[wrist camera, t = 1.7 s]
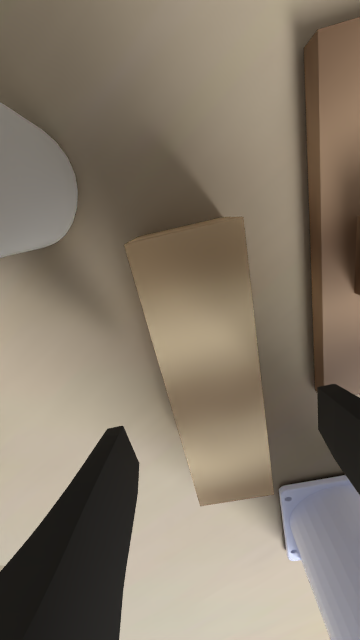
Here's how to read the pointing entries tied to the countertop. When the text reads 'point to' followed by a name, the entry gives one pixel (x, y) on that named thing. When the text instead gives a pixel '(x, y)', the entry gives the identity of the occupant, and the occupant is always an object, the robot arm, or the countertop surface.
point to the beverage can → (32, 186)
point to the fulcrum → (334, 200)
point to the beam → (207, 352)
